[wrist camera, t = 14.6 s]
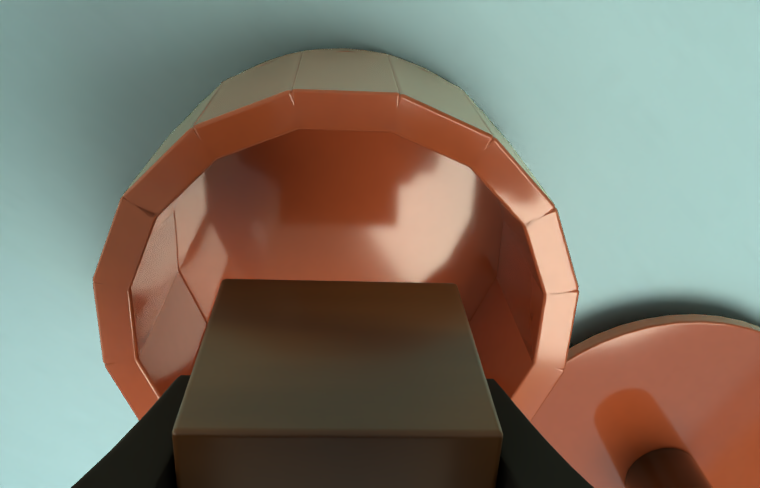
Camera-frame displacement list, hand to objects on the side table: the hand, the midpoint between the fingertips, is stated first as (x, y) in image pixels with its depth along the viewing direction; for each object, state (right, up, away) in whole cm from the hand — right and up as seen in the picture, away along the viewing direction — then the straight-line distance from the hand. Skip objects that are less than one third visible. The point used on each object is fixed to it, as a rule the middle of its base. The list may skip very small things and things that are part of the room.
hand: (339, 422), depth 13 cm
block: (0, +1, +1) cm, 1 cm away
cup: (0, +3, +8) cm, 8 cm away
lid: (+10, -4, +11) cm, 15 cm away
